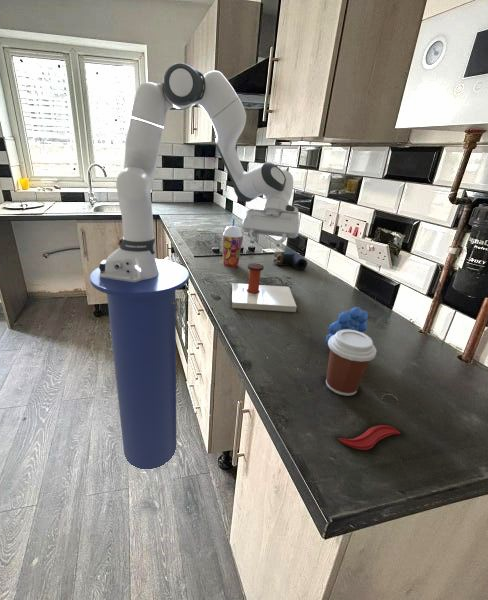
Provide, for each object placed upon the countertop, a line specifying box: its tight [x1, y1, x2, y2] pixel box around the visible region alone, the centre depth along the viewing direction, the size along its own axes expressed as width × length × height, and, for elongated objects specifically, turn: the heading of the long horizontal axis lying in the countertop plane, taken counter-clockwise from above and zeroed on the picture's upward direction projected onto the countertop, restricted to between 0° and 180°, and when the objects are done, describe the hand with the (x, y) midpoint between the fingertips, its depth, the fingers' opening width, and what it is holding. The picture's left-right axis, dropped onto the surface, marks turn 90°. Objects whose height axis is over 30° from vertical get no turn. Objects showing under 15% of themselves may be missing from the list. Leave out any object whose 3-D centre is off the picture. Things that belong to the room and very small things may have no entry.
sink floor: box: [231, 283, 298, 313], centre depth 108 cm, size 20×16×2 cm
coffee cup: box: [325, 329, 378, 397], centre depth 67 cm, size 9×9×12 cm
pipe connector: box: [272, 248, 308, 271], centre depth 141 cm, size 12×5×15 cm
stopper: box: [247, 263, 265, 294], centre depth 108 cm, size 5×5×11 cm
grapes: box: [325, 306, 369, 345], centre depth 80 cm, size 12×7×12 cm, turn 109°
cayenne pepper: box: [337, 424, 401, 451], centre depth 56 cm, size 12×5×2 cm, turn 93°
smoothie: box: [222, 218, 244, 269], centre depth 134 cm, size 8×8×20 cm
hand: (265, 244), depth 113 cm, fingers open, 8 cm apart
